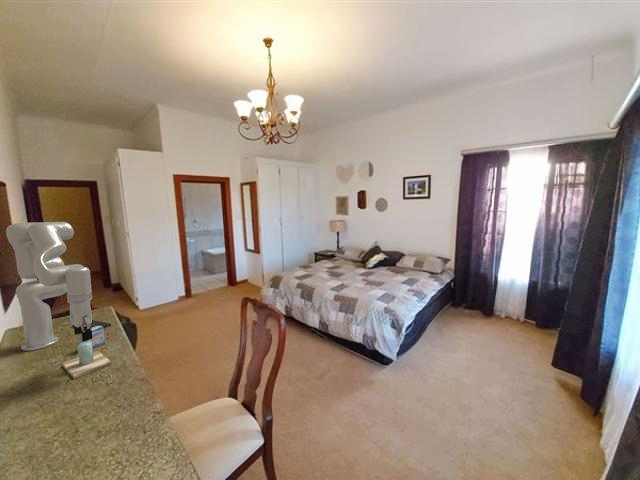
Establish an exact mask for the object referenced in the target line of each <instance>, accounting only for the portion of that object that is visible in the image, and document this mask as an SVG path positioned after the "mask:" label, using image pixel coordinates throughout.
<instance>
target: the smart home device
mask: <svg viewBox="0 0 640 480" xmlns="http://www.w3.org/2000/svg"><path fill="white" fill-rule="evenodd" d="M84 324H86V323H84ZM95 326H103V328H104V329H106V327H107V328H108V326H109V327H111V326H112V323H110V322H105V321H103V322H102V321H99V320H93V319H92V323H91V328H93V327H95ZM72 328H74V325H73V324H72ZM84 328H85V326H84Z"/></svg>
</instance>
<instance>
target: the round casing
mask: <svg viewBox="0 0 640 480" xmlns="http://www.w3.org/2000/svg"><path fill="white" fill-rule="evenodd" d="M76 348H77V355H78V357H79V365H86V364H89V363H91V362H93V361H94V358H93V352H94V350H93V349H94V348H93V349H92V342H90V341H88V342H83V343H81V342H80V343H79V344H77V345H76ZM78 357H77V358H78Z"/></svg>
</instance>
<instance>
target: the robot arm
mask: <svg viewBox="0 0 640 480" xmlns="http://www.w3.org/2000/svg"><path fill="white" fill-rule="evenodd" d="M74 234H75V231H74V228H73V226H72V225H71V224H70V223H68V222H67V221H43V222H41V221H40V222H34V221H33V222H19V223H12V224H10V225H8V226H7V227H6V233H5V235H6V237H7V240H8V242H9V244H10V245H11V247H12V248H13V251H14V255H15V261H16V268H17V273H18V274H17V275H18V276H19V278H21V279H22V280H30V279H31V281H26V282H23V283H21V284H19V285H18V286H17V287H16V289H15V294H16V298H17V301H18V303H19V306H20V312H21V318H22V325H23V334H24V343H23V344H22V345H21V346H20V348H21V350H22V351H25V352H26V351H36V350H40V349H43V348H47V347H49V346H52V345H54V344H56V343H57V342H58V341H59V337H58V336H56V335H54V329H53V320H52V311H51V306H50V305H49V304H48V303H46V302H45V301H43V300H46V299H50V298H56V297H59V296H62V295H65V294H66V296H67V297H66V299H67V303H68V304H69V321H70V323H71V324H72V325H74V327H73V329H74V330H73V331H74V335H75V336H77V335H80V334H82V341H83V342H84V341H87V340H91V339H92V338H93V337H92V328H91V323H92V320H93V317H92V316H93V315H92V309H91V300H92V299H93V294H92V293H93V291H92V281H91V280H92V279H91V271H90V269H89V267H87V266H83V265H82V264H79V263H75V264H67V265H65V262H64V261H63V258H61V257H60V256H62V255H63V254H64V253H65V252H66V251H67V245H66V243H65V242H64V241H66V240H70V239H72V238H73V236H74ZM32 279H38V280H32ZM84 323H86V324H84ZM84 326H85V328H84Z"/></svg>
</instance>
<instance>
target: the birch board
mask: <svg viewBox="0 0 640 480" xmlns="http://www.w3.org/2000/svg"><path fill="white" fill-rule="evenodd" d="M93 358H94V361H93V362H91V363H89V364H86V365H79V357H76V358H73V359H71V360H67V361H64V362H62V367H63V368H64V369H65V371H67V372H68V374H69V375H70V376H71V377H72V379H75V380H76V379H77V378H80V377H82V376H85V375H88V374H90V373H93V372H96V371H98V370H100V369H104V368H106V367H108V366H111V365H112V361H111V360H110V359H109V358H107V357H106V356H105V355H104V354H103V353H102V352H100V351H99V350H96V351H93Z"/></svg>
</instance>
